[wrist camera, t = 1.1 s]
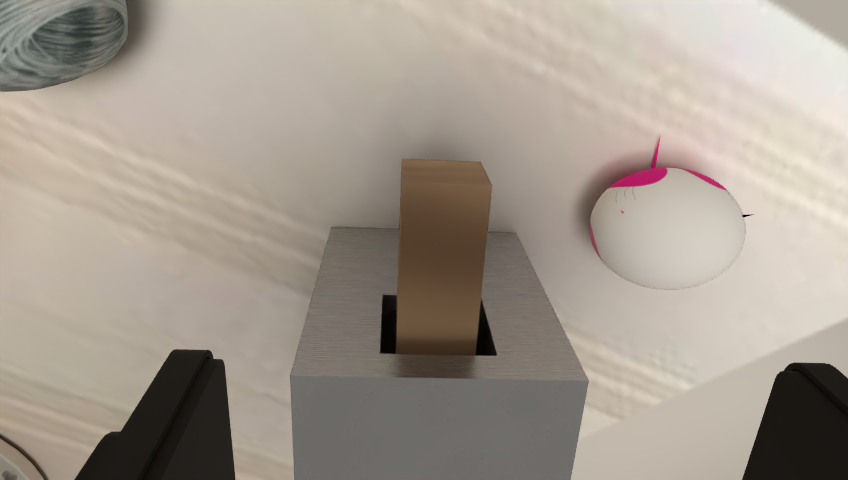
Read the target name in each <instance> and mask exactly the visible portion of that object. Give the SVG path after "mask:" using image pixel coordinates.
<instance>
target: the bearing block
mask: <svg viewBox="0 0 848 480" xmlns="http://www.w3.org/2000/svg"><path fill="white" fill-rule="evenodd" d="M398 251H399V229H374V228H343V227H331V230H330V234H329V238H328V241H327V245H326V248H325V252H324V256H323V259H322V263H321V266H320V270H319V274H318V277H317V281H316V284H315V288H314V292H313V295H312V299H311V303H310V306H309V310H308V313H307V317H306V321H305V324H304V328H303V331H302V335H301V339H300V342H299V346H298V349H297V353H296V357H295V360H294V364H293V368H292V371H291V375H290V381H291V406H292V431H293V455H294V480H570V479H571V474H572V469H573V463H574V458H575V452H576V447H577V442H578V436H579V431H580V425H581V420H582V414H583V409H584V404H585V398H586V393H587V387H588V382H589V380H588V378H587V376H586V374H585V372H584V370H583V368H582V366H581V364H580V362H579V360H578V358H577V356H576V354H575V352H574V350H573V348H572V346H571V344H570V342H569V340H568V338H567V336H566V334H565V332H564V330H563V328H562V326H561V324H560V321H559V319H558V317H557V315H556V313H555V311H554V309H553V307H552V305H551V303H550V301H549V299H548V297H547V295H546V293H545V291H544V289H543V287H542V285H541V283H540V281H539V279H538V277H537V275H536V273H535V271H534V269H533V267H532V265H531V263H530V261H529V259H528V256H527V254H526V252H525V250H524V248H523V246H522V244H521V242H520V240H519V238H518V236H517V234H516V233H502V232H487V241H486V252H485V262H484V272H483V283H482V293H481V303H480V314H479V324H478V334H477V345H476V355H475V356H472V355H421V354H395V331H396V304H397V277H398Z"/></svg>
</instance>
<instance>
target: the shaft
mask: <svg viewBox="0 0 848 480" xmlns="http://www.w3.org/2000/svg"><path fill="white" fill-rule="evenodd" d="M491 190H492V184H491V182H490V180H489V178H488V176H487V174H486V172H485V170H484V168H483V166H482V164H481V162H469V161H443V160H417V159H402V170H401V197H400V224H399V251H398V277H397V304H396V331H395V354H421V355H472V356H475V355H476V345H477V334H478V324H479V314H480V303H481V293H482V283H483V272H484V262H485V252H486V241H487V231H488V221H489V210H490V200H491Z"/></svg>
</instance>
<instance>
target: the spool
mask: <svg viewBox="0 0 848 480" xmlns="http://www.w3.org/2000/svg"><path fill="white" fill-rule="evenodd" d="M127 37H128V14H127V6H126V0H0V91H3V92H9V91H27V90H35V89H41V88H45V87H50V86H54V85H58V84H61V83H65V82H68V81H71V80H74V79H76V78H79V77H81V76H83V75H85V74H88V73H90V72H93V71H95V70H97V69H99V68H100V67H102V66H103V65H105V64H106V63H108V62H109V61H110V60H111V59H112V58H113V57H114V56H115V55H116V54H117V52H118V51H119V50H120V48H121V47H122V46H123V44H124V43H125V41H126V39H127Z"/></svg>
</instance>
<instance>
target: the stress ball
mask: <svg viewBox="0 0 848 480" xmlns="http://www.w3.org/2000/svg"><path fill="white" fill-rule="evenodd" d="M660 135H661V134H660ZM659 141H660V138H659ZM658 147H659V142H658V146H657V149H656V153H655V157H654V161H653V165H652V169H647V170H642V171H639V172H636V173H632V174H630V175H628V176H626V177H624V178H622V179H620V180H618V181H617V182H615V183H614V184H612V185H611V186H610V187H609V188H608V189H607V190H606V191H605V192H604V193H603V194H602V195H601V196H600V198H599V199H598V201H597V202H596V204H595V206H594V208H593V211H592V214H591V218H590V236H591V240H592V244H593V246H594V249H595V251H596V252H597V254H598V256H599V257H600V259H601V260H602V261H603V262H604V263H605V265H606V266H607V267H608V268H610V269H611V270H612V271H613V272H615V273H616V274H617V275H619V276H620V277H622V278H624V279H626V280H628V281H630V282H632V283H635V284H638V285H641V286H644V287H649V288H654V289H663V290H676V289H684V288H690V287H694V286H698V285H701V284H703V283H706V282H708V281H710V280H712V279H714V278H716V277H717V276H719V275H720V274H722V273H723V272H724V271H726V270H727V269H728V268H729V267H730V266H731V265H732V264H733V263H734V261H735V260H736V259H737V257H738V255H739V254H740V252H741V249H742V247H743V244H744V240H745V233H746V227H745V220H744V217H746V216H750V215H743V213H742V210H741V208H740V206H739V204H738V203H737V201H736V200H735V198H734V197H733V196H732V195H731V194H730V192H729V191H727V190H726V189H725V188H724V187H723V186H722V185H720V184H719V183H717V182H716V181H714V180H713V179H711V178H709V177H707V176H705V175H702V174H700V173H697V172H693V171H690V170H685V169H680V168H655V167H656V160H657V154H658ZM753 215H754V214H753Z"/></svg>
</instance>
